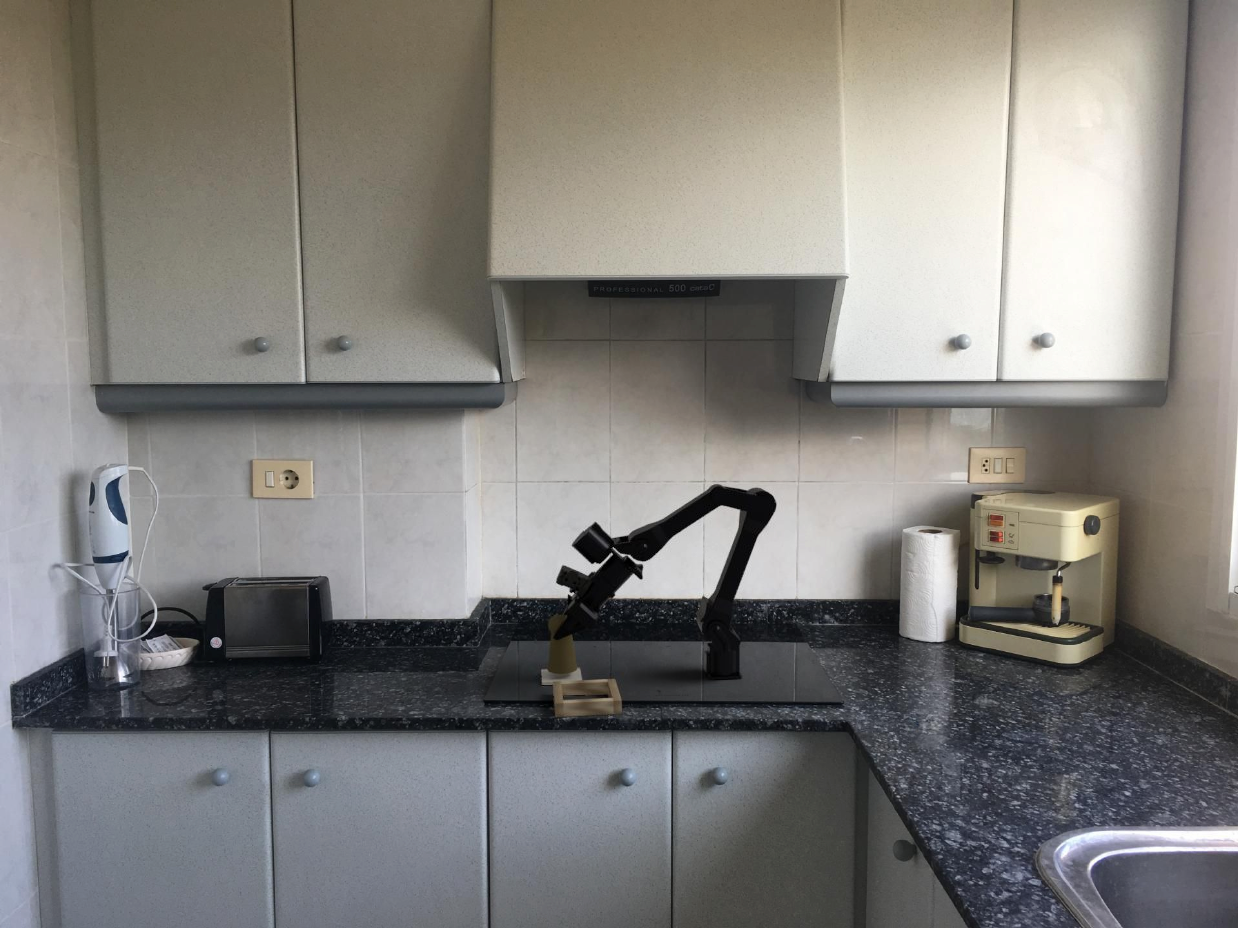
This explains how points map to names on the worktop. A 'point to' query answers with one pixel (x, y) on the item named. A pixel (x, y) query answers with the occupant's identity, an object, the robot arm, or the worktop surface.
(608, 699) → the oak collar
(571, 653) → the olive knobbed peg
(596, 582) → the robot arm
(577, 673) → the cream tile
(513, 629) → the worktop surface
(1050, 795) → the worktop surface
